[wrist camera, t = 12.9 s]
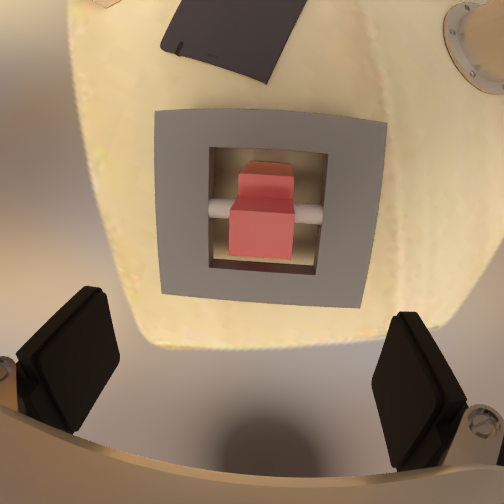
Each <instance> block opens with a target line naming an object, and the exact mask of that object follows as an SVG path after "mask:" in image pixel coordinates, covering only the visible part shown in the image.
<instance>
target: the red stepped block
mask: <svg viewBox="0 0 504 504" xmlns="http://www.w3.org/2000/svg"><path fill="white" fill-rule="evenodd" d="M293 187H294V175H293V171H292V168H291V165H290V164H289V163H275V162H258V161H250V162H249V163H248V164H247V165H246V166H245V167H244V168H243V169H242V170H241V171H240V173H239V176H238V197H237V198H236V200H235V202H234V203H233V205H232V207H231V208H230V214H229V255H234V256H248V257H262V258H276V259H290V260H291V254H292V243H293V232H294V221H295V211H294V205H293Z"/></svg>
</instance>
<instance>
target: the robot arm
mask: <svg viewBox="0 0 504 504" xmlns="http://www.w3.org/2000/svg"><path fill="white" fill-rule="evenodd" d="M444 36H445V41H446V45H447V48H448V51H449V53H450V55H451V57H452V59H453V61H454V63H455V64H456V66H457V68H458V69H459V71H460V72H461V73H462V74H463V75H464V77H465V78H466V79H467V80H468V81H469V82H470V83H471V84H473V85H474V86H475V87H477V88H478V89H480V90H482V91H484V92H486V93H489V94H498V95H499V94H504V0H494V1H492V2H490V3H488V4H486V5H483V6H480V5H477V4H474V3H469V2H468V3H461V4H458V5H456V6H454V7H453V8H451V9H450V11H449V12H448V13H447V15H446V17H445V21H444ZM16 356H17V358H18V360H19V361H18V362H17V363H16V364H15V362H14V361H13V359H11V358H9V357H5V356H0V504H504V421H503V418H502V417H501V415H500V414H499V413H498V412H497V411H496V410H495V409H493V408H491V407H490V406H486V405H483V404H476V405H473V406H470V407H468V405H467V403H466V400H467V398H466V396H465V394H464V392H463V390H462V388H461V387H460V385H459V383H458V381H457V379H456V377H455V376H454V374H453V372H452V370H451V368H450V367H449V365H448V363H447V361H446V360H445V358H444V356H443V354H442V353H441V351H440V350H439V348H438V346H437V344H436V342H435V341H434V339H433V338H432V336H431V334H430V333H429V331H428V329H427V328H426V326H425V324H424V323H423V321H422V320H421V318H420V316H419V315H418V313H417V312H399V313H398V314H397V316H393V318H392V320H391V323H390V326H389V330H388V333H387V336H386V339H385V342H384V345H383V348H382V352H381V355H380V357H379V360H378V363H377V366H376V369H375V372H374V374H373V377H372V390H373V394H374V398H375V401H376V405H377V409H378V413H379V417H380V421H381V424H382V428H383V433H384V437H385V441H386V445H387V449H388V453H389V457H390V462H391V466H392V467H393V468H395V467H396V469H397V472H395V473H387V474H378V475H365V476H353V477H352V476H351V477H332V478H286V477H266V476H253V475H242V474H233V473H224V472H216V471H210V470H203V469H197V468H191V467H186V466H181V465H176V464H171V463H166V462H162V461H157V460H153V459H148V458H145V457H141V456H137V455H133V454H130V453H126V452H122V451H119V450H116V449H112V448H109V447H106V446H103V445H100V444H97V443H94V442H91V441H88V440H85V439H82V438H80V437H77V436H74V435H73V433H74V431H78V430H79V429H80V427H81V426H82V423H83V422H84V420H85V419H86V417H87V415H88V414H89V412H90V410H91V409H92V407H93V405H94V403H95V402H96V400H97V398H98V397H99V395H100V393H101V392H102V390H103V388H104V386H105V385H106V384H107V382H108V380H109V379H110V377H111V375H112V374H113V372H114V370H115V369H116V367H117V366H118V364H119V361H120V354H119V350H118V346H117V342H116V337H115V333H114V329H113V324H112V319H111V315H110V310H109V305H108V300H107V296H106V294H105V293H103V291H102V289H101V288H98V287H91V286H84V287H83V288H82V289H81V290H80V291H79V292H77V293H76V294H75V295H74V296H73V297H72V298H71V299H70V300H69V301H68V302H67V303H66V304H65V305H64V306H63V307H61V308H60V309H59V310H58V311H57V312H56V313H55V314H54V315H53V316H52V317H51V318H50V319H49V320H48V321H47V322H46V323H45V324H44V325H43V326H42V327H41V328H40V329H39V330H38V331H37V332H36V333H35V334H34V335H33V336H32V337H31V338H30V339H29V340H28V341H27V342H26V343H25V344H24V345H23V346H22V347H21V348H20V349H19V350H18V351H17V353H16Z"/></svg>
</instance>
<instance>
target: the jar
mask: <svg viewBox="0 0 504 504" xmlns="http://www.w3.org/2000/svg"><path fill="white" fill-rule="evenodd" d="M92 1H94V2H96V3H97V4H99V5H101V6H103V7H105V8H108V7H110V6H111V5H113V4H115V3H117V2H118V1H120V0H92Z"/></svg>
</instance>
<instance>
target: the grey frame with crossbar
mask: <svg viewBox="0 0 504 504" xmlns="http://www.w3.org/2000/svg"><path fill="white" fill-rule="evenodd" d="M386 134H387V123H384V122H378V121H371V120H365V119H358V118H351V117H343V116H335V115H326V114H317V113H306V112H294V111H279V110H259V109H183V110H163V111H155V129H154V169H155V205H156V226H157V243H158V257H159V269H160V281H161V291H162V294H169V295H178V296H188V297H198V298H209V299H220V300H231V301H243V302H256V303H270V304H285V305H301V306H319V307H340V308H360V306H361V302H362V297H363V293H364V288H365V283H366V278H367V273H368V268H369V263H370V258H371V252H372V247H373V241H374V235H375V229H376V222H377V216H378V209H379V201H380V194H381V186H382V177H383V168H384V158H385V147H386ZM214 147H231V148H258V149H276V150H291V151H304V152H316V153H325V155H324V168H323V180H322V191H321V202H320V205H317V204H305V203H293V205H294V211H295V221H294V223H305V224H318V231H317V240H316V249H315V257H314V265H313V266H311V265H296V264H281V263H266V262H252V261H238V260H224V259H213V218H228V219H229V214H230V208H231V207H232V205H233V203H234V202H235V200H236V199H223V198H213V189H214Z"/></svg>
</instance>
